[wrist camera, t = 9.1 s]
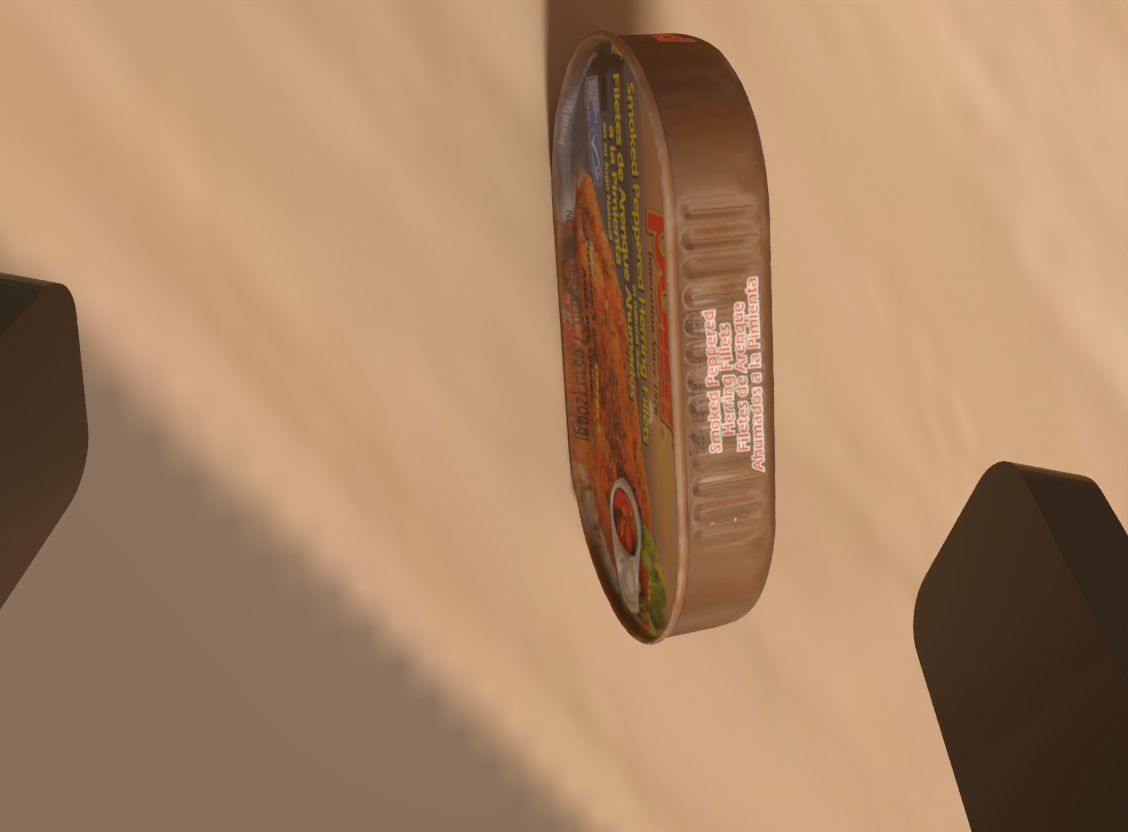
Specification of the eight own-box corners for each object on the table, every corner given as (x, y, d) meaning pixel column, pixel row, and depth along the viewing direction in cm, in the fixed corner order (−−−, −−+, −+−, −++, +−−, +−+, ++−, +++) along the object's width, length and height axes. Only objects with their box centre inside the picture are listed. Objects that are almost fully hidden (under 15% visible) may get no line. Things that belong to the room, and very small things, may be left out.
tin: (541, 51, 27) (628, 7, 20) (654, 46, 28) (782, 1, 20) (575, 570, 31) (658, 711, 23) (673, 555, 32) (787, 688, 24)
